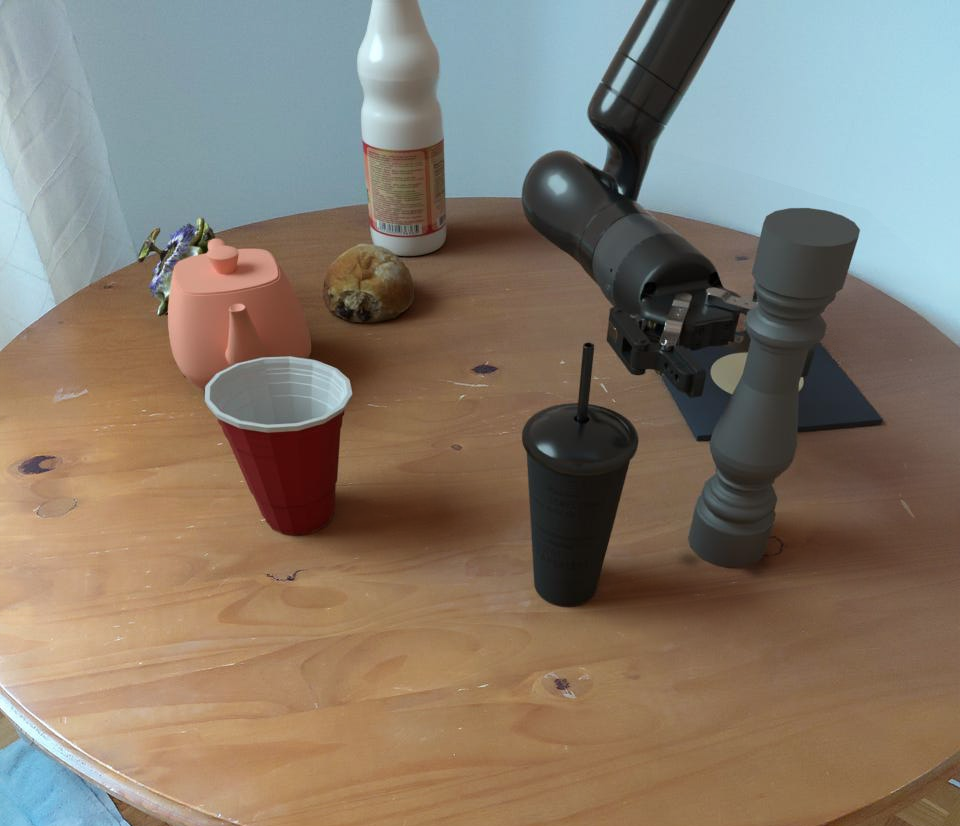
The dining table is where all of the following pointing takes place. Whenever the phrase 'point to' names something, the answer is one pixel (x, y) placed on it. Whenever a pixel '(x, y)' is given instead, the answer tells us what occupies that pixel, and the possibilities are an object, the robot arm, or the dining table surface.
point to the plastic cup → (284, 435)
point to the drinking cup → (575, 490)
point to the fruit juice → (402, 130)
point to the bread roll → (368, 285)
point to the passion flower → (174, 256)
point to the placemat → (820, 402)
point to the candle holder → (770, 381)
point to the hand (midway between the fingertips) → (754, 376)
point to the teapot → (232, 312)
